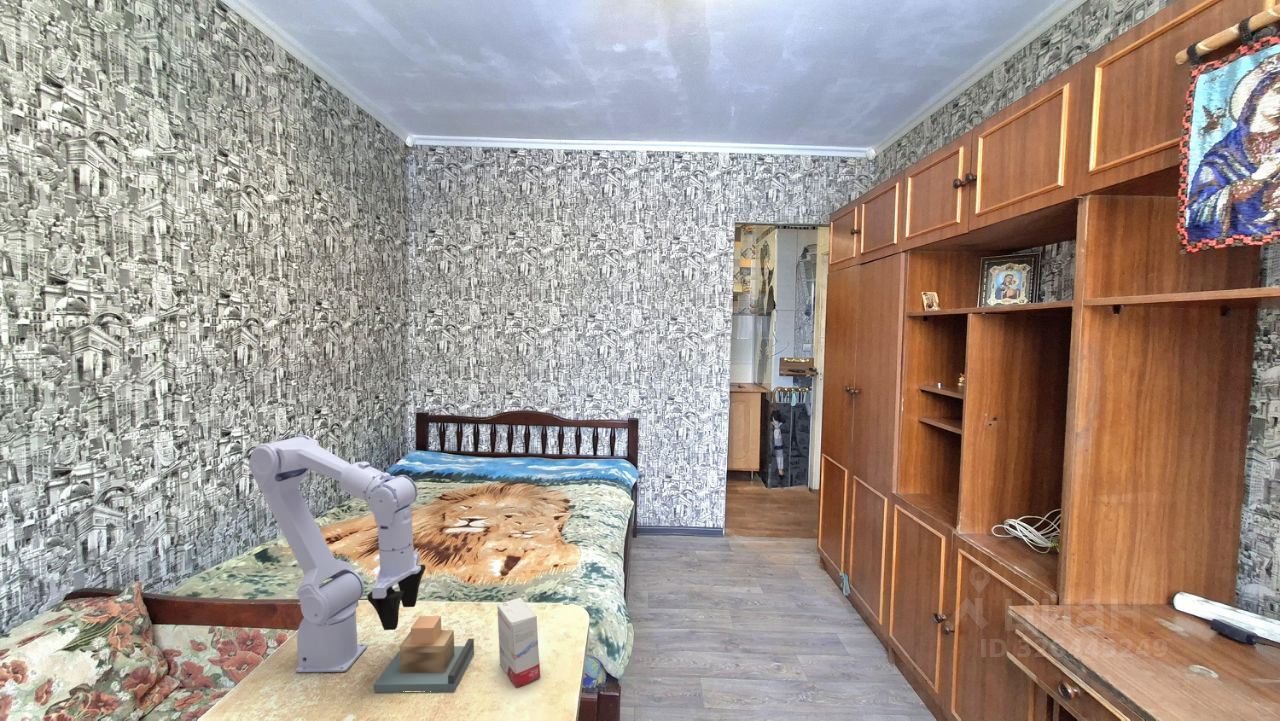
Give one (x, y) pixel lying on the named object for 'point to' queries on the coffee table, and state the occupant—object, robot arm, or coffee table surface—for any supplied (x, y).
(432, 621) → the carton
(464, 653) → the dock
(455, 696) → the coffee table surface
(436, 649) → the tan rectangular block
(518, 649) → the ink box
